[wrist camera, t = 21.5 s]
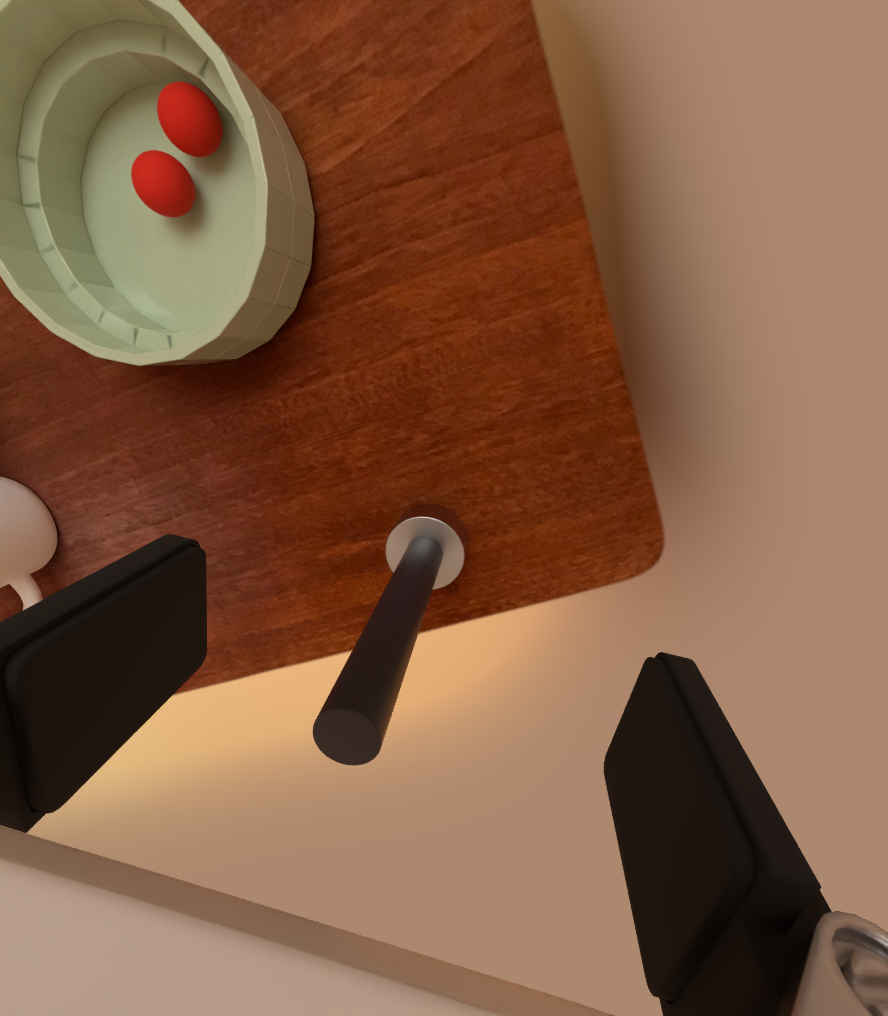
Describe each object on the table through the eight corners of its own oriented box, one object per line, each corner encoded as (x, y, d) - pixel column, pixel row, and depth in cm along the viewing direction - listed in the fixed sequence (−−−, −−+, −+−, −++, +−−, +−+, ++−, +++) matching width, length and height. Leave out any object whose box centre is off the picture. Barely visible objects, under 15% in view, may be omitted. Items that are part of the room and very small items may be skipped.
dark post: (466, 503, 31) (416, 677, 14) (469, 573, 32) (427, 803, 16) (391, 504, 31) (260, 670, 15) (397, 572, 33) (286, 790, 16)
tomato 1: (203, 92, 25) (234, 99, 23) (204, 159, 26) (233, 168, 25) (143, 67, 22) (174, 73, 21) (148, 142, 24) (176, 151, 23)
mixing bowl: (331, 74, 24) (276, -13, 18) (306, 384, 29) (258, 391, 24) (51, 29, 25) (-82, -66, 19) (77, 336, 31) (-21, 332, 25)
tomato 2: (109, 185, 24) (127, 126, 23) (153, 215, 27) (170, 164, 26) (157, 208, 24) (176, 149, 23) (196, 236, 26) (214, 184, 26)
